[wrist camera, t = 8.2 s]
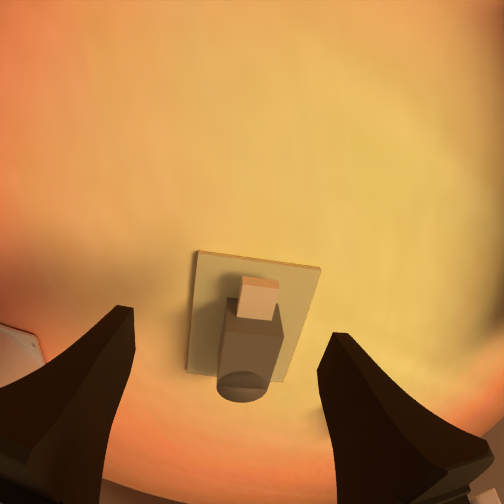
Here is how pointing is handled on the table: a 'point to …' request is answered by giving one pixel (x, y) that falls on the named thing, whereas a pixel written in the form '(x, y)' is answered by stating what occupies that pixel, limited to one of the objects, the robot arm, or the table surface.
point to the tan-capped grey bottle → (249, 341)
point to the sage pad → (228, 285)
